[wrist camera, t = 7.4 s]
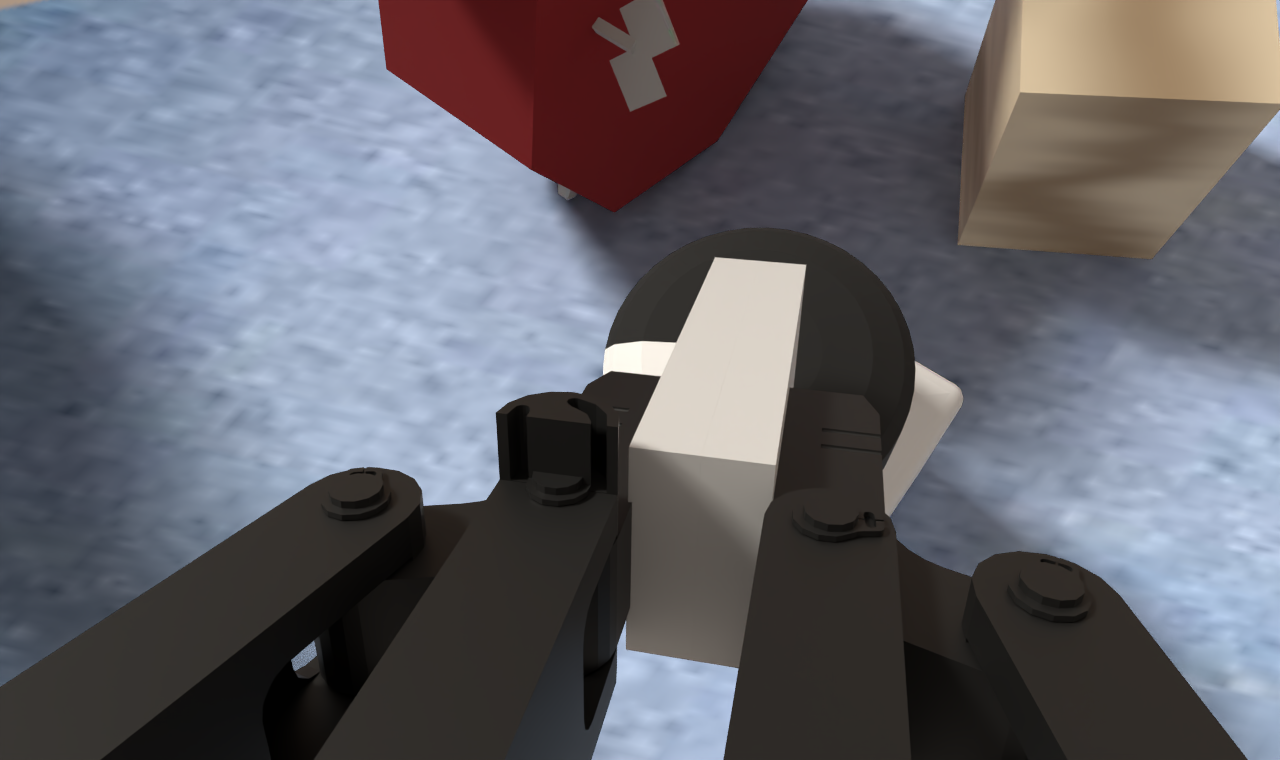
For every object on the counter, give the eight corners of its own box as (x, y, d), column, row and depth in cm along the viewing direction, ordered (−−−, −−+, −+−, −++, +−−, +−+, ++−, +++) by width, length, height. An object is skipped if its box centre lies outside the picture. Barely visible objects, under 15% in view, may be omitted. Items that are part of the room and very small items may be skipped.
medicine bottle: (733, 345, 30) (710, 128, 19) (923, 466, 28) (1028, 300, 16) (602, 519, 28) (493, 396, 17) (793, 660, 26) (810, 625, 15)
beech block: (957, 245, 30) (1020, 91, 22) (964, 95, 32) (1024, -92, 24) (1151, 259, 29) (1285, 104, 21) (1147, 104, 31) (1268, -90, 23)
